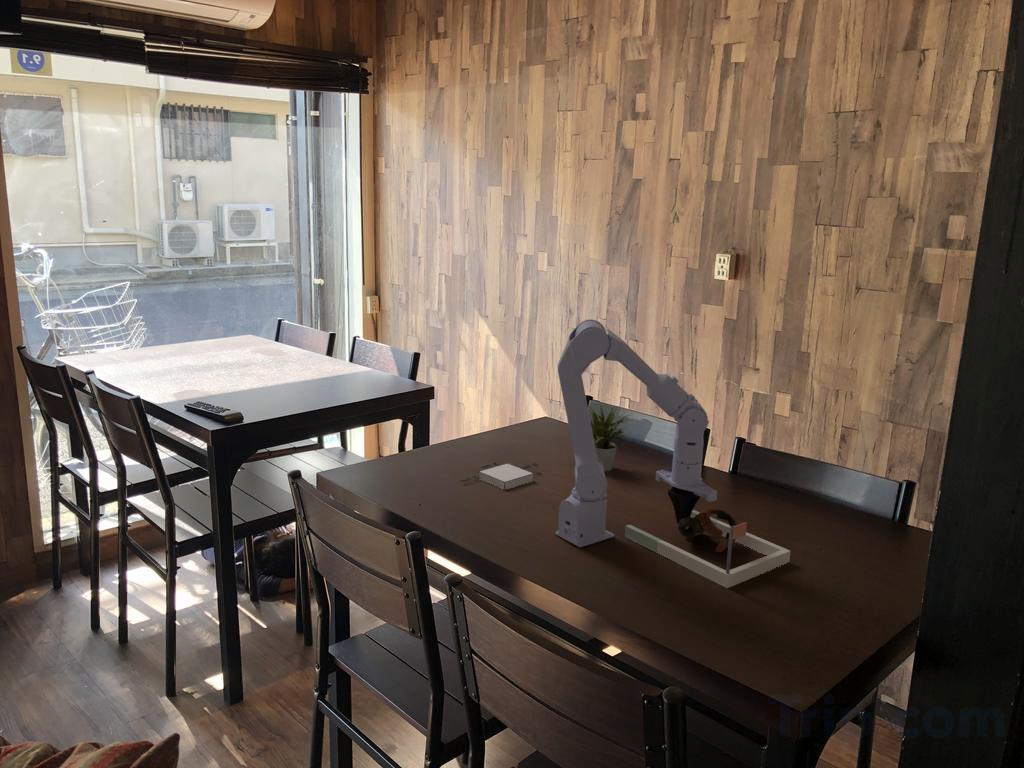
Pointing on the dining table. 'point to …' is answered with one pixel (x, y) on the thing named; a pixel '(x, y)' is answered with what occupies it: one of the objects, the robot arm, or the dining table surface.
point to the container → (505, 475)
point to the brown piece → (707, 527)
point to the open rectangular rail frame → (727, 577)
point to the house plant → (606, 437)
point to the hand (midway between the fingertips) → (682, 523)
